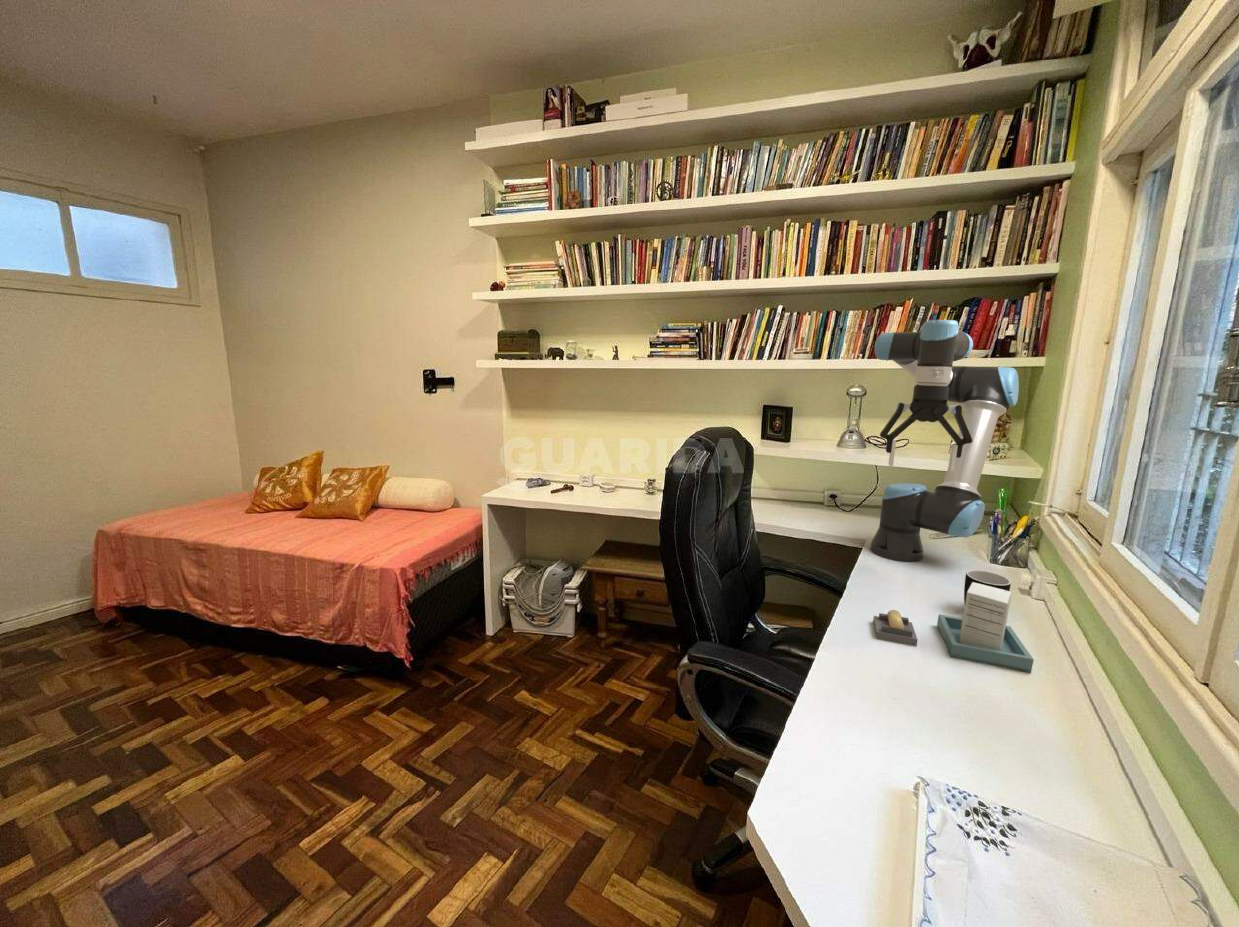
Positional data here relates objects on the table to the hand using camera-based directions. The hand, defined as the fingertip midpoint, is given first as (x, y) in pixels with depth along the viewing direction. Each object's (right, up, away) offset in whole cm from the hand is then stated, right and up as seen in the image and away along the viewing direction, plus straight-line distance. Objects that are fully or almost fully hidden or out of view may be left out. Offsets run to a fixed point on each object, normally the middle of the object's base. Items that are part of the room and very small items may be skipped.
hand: (920, 467), depth 130 cm
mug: (+13, -37, -4) cm, 39 cm away
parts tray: (+2, -39, -19) cm, 44 cm away
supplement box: (+2, -39, -19) cm, 44 cm away
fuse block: (-14, -38, -14) cm, 43 cm away
